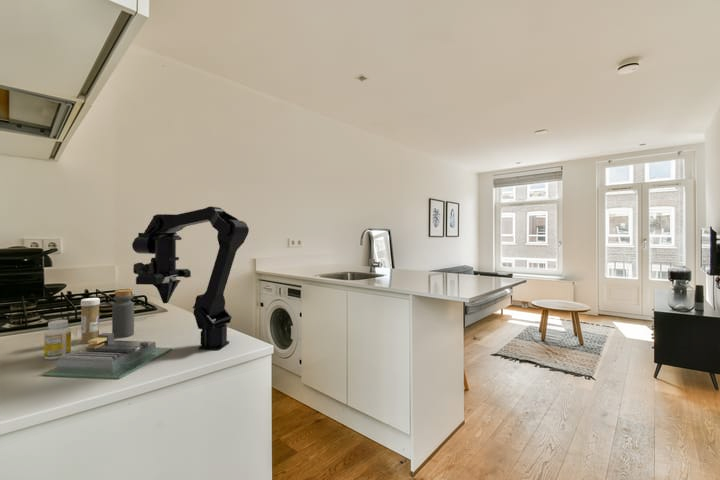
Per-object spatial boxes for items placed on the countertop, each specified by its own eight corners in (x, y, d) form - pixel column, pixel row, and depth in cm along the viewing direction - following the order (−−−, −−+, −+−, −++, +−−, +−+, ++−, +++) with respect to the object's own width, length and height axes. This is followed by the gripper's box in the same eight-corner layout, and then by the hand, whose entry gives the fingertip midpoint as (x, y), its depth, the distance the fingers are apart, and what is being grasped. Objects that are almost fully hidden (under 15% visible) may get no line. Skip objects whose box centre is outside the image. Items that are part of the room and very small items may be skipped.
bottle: (108, 336, 106) (108, 291, 106) (126, 331, 111) (126, 288, 111) (119, 339, 104) (119, 292, 103) (138, 334, 109) (138, 289, 109)
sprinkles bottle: (98, 342, 100) (98, 299, 100) (79, 345, 98) (79, 300, 97) (100, 338, 104) (100, 296, 104) (81, 340, 101) (82, 298, 101)
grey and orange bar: (143, 348, 87) (143, 344, 87) (134, 353, 83) (134, 348, 83) (96, 346, 87) (96, 342, 87) (85, 350, 84) (85, 346, 84)
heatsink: (171, 350, 94) (171, 334, 94) (119, 378, 75) (119, 359, 75) (110, 347, 96) (110, 332, 96) (43, 375, 77) (43, 356, 77)
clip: (113, 343, 90) (114, 333, 90) (98, 349, 85) (98, 339, 85) (103, 342, 90) (103, 332, 90) (87, 349, 85) (87, 338, 85)
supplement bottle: (51, 361, 85) (51, 325, 85) (39, 358, 87) (39, 322, 87) (75, 354, 90) (75, 320, 90) (63, 351, 92) (64, 318, 92)
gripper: (160, 252, 112) (160, 297, 113) (117, 255, 94) (117, 309, 94) (191, 252, 112) (191, 297, 112) (154, 256, 93) (154, 309, 93)
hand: (165, 303), depth 103 cm, fingers closed
